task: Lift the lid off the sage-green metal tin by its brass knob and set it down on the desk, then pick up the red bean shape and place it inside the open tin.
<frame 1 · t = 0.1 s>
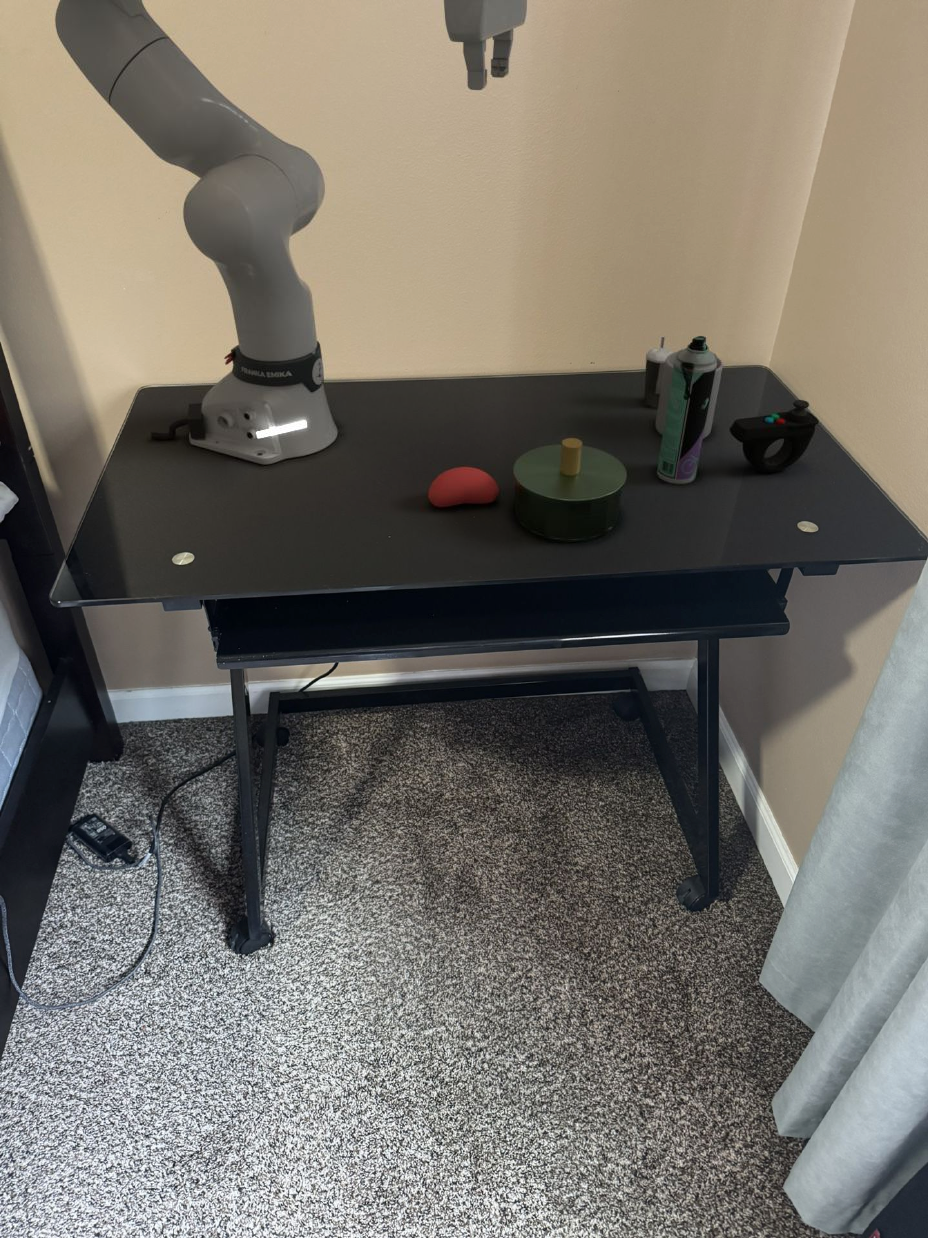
hand: (488, 82, 98), 48 cm above the table, tool pointing down, fingers open, 8 cm apart
tin lid: (569, 474, 114), point 6 cm above the table, touching tin
tin: (566, 514, 117), on the table
milkshake: (653, 403, 144), on the table
red bean shape: (463, 503, 120), on the table
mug: (684, 435, 135), on the table
spray can: (675, 475, 126), on the table
controller: (763, 470, 127), on the table
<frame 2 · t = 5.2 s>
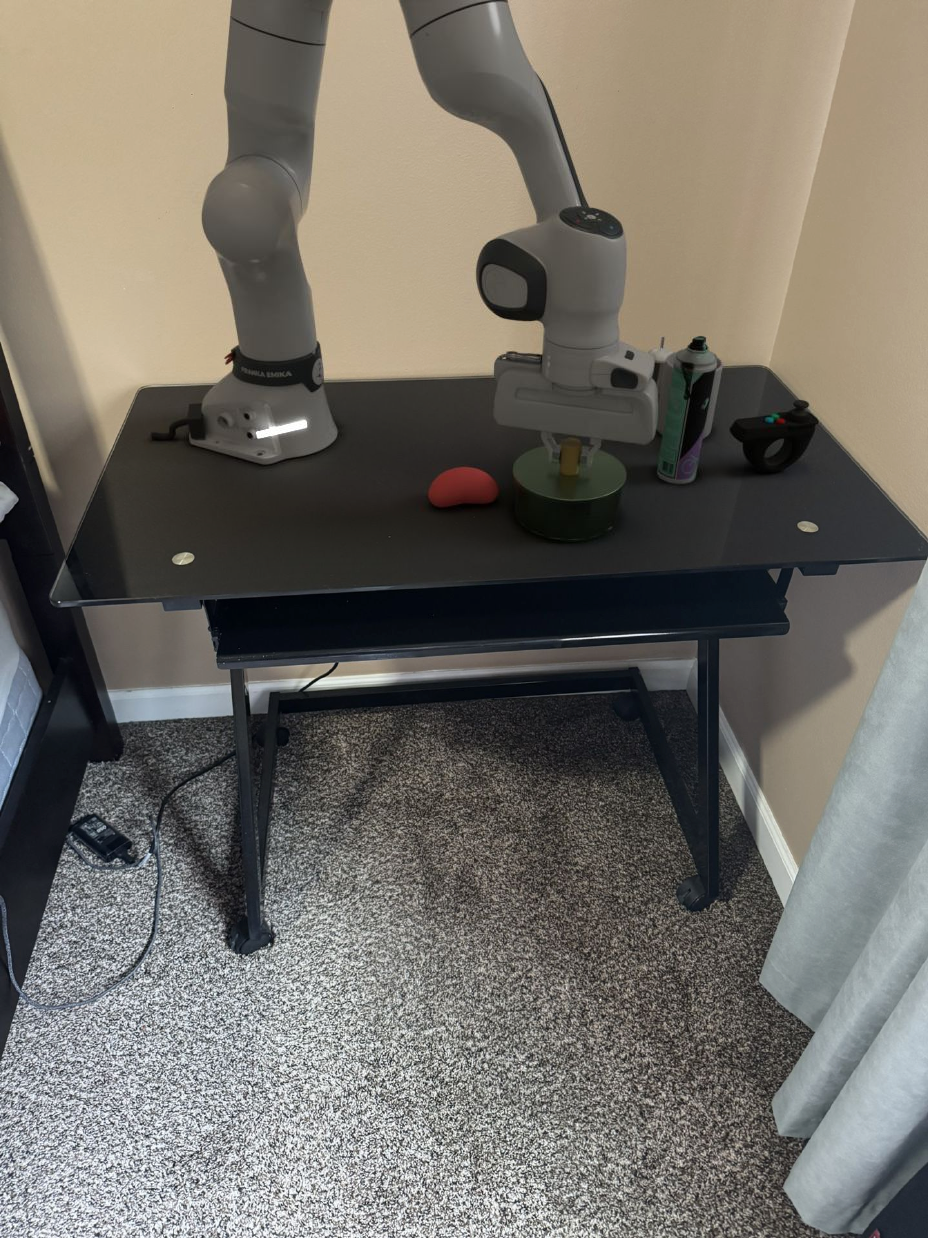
hand: (570, 462, 112), 8 cm above the table, tool pointing down, fingers closed on tin lid, 2 cm apart
tin lid: (569, 474, 114), point 6 cm above the table, touching gripper, tin
everything else where it was.
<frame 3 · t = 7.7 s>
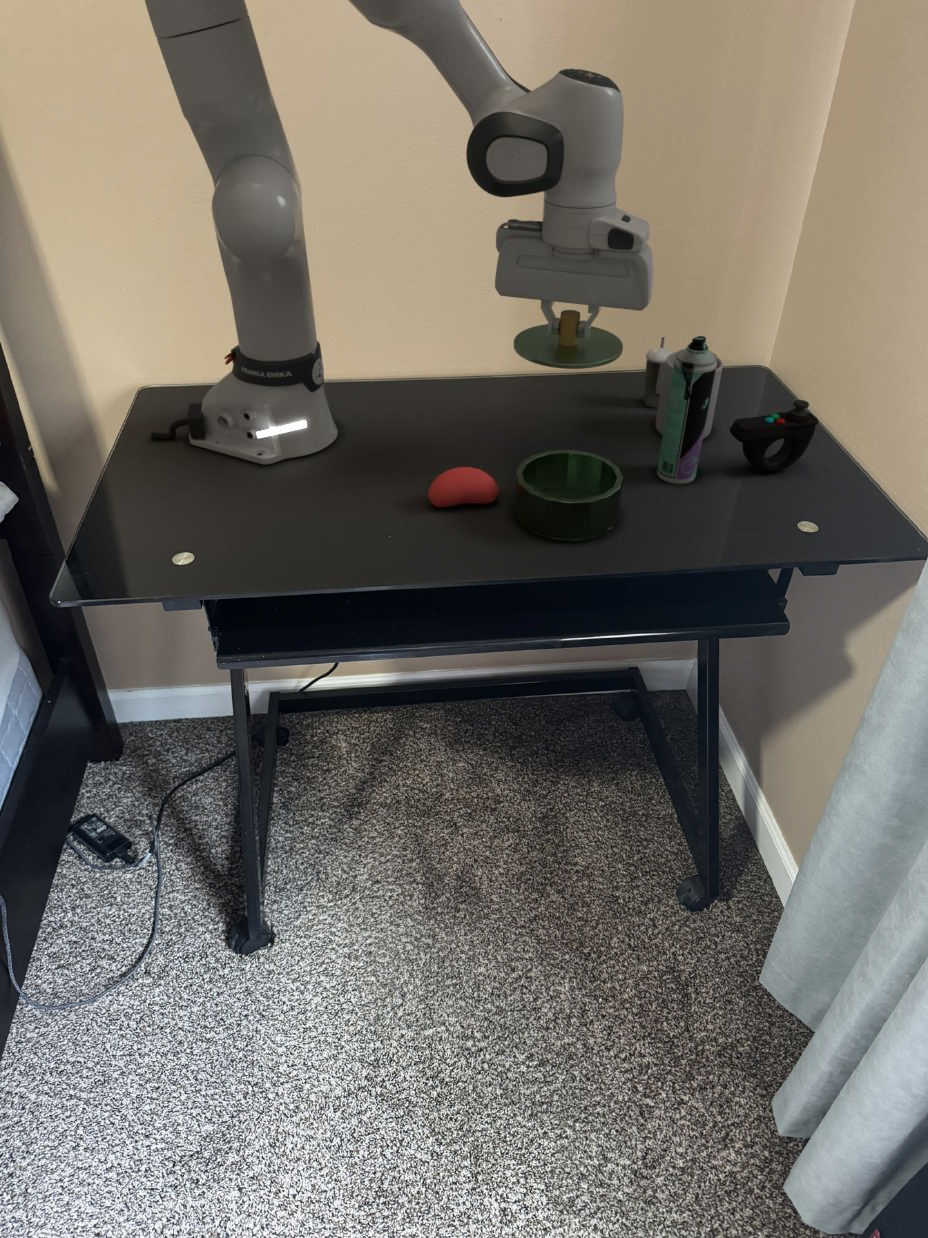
hand: (568, 334, 117), 19 cm above the table, tool pointing down, fingers closed on tin lid, 2 cm apart
tin lid: (567, 347, 118), point 17 cm above the table, touching gripper
everything else where it was.
when the fingers open (2 cm above the table, at t = 10.5 s): tin lid stays where it is, point 1 cm above the table.
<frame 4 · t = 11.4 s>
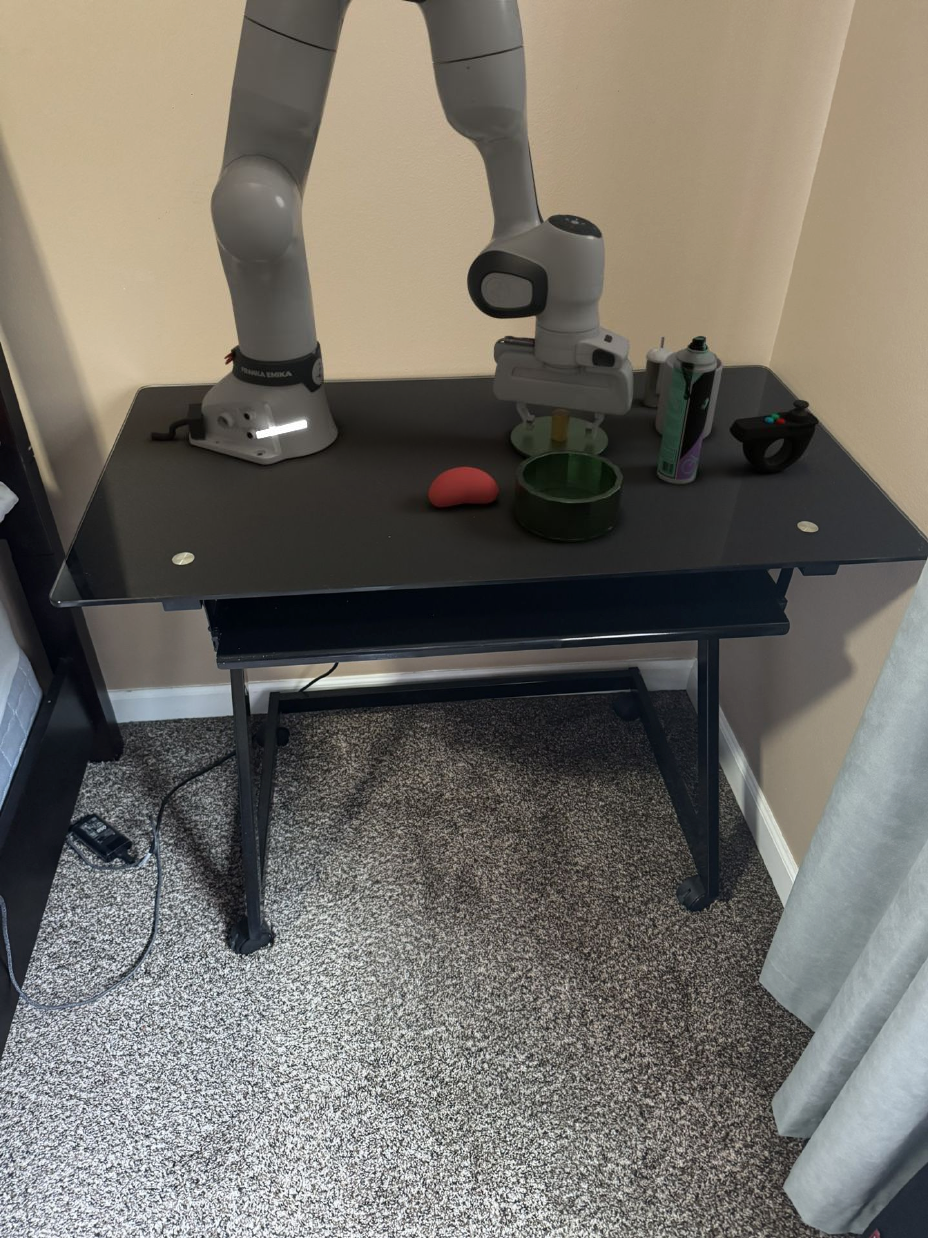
hand: (559, 432, 131), 2 cm above the table, tool pointing down, fingers open, 8 cm apart
tin lid: (558, 440, 132), point 1 cm above the table
everything else where it was.
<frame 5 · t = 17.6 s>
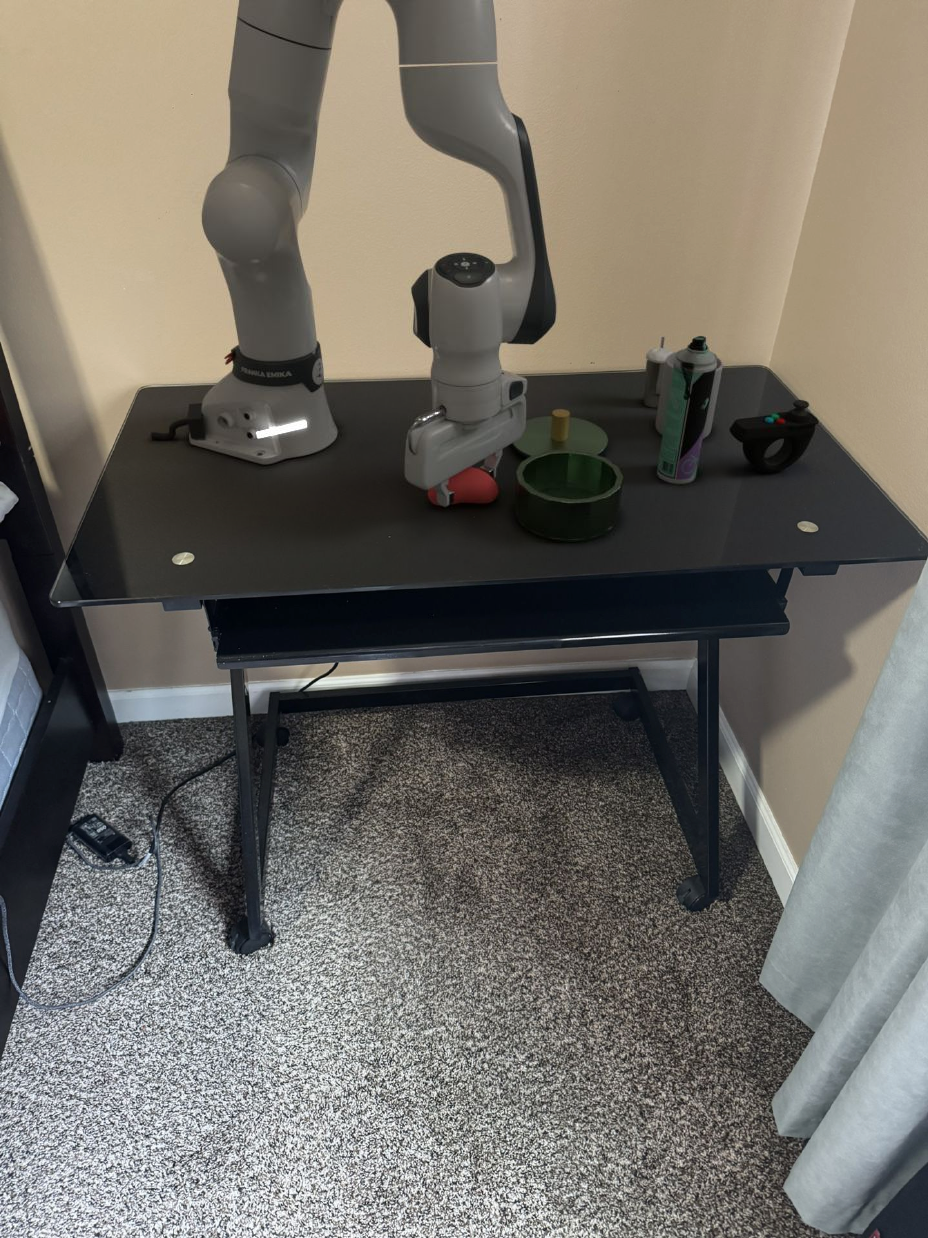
hand: (467, 490, 118), 2 cm above the table, tool pointing down, fingers closed on red bean shape, 7 cm apart
red bean shape: (463, 502, 120), on the table, touching gripper
everything else where it was.
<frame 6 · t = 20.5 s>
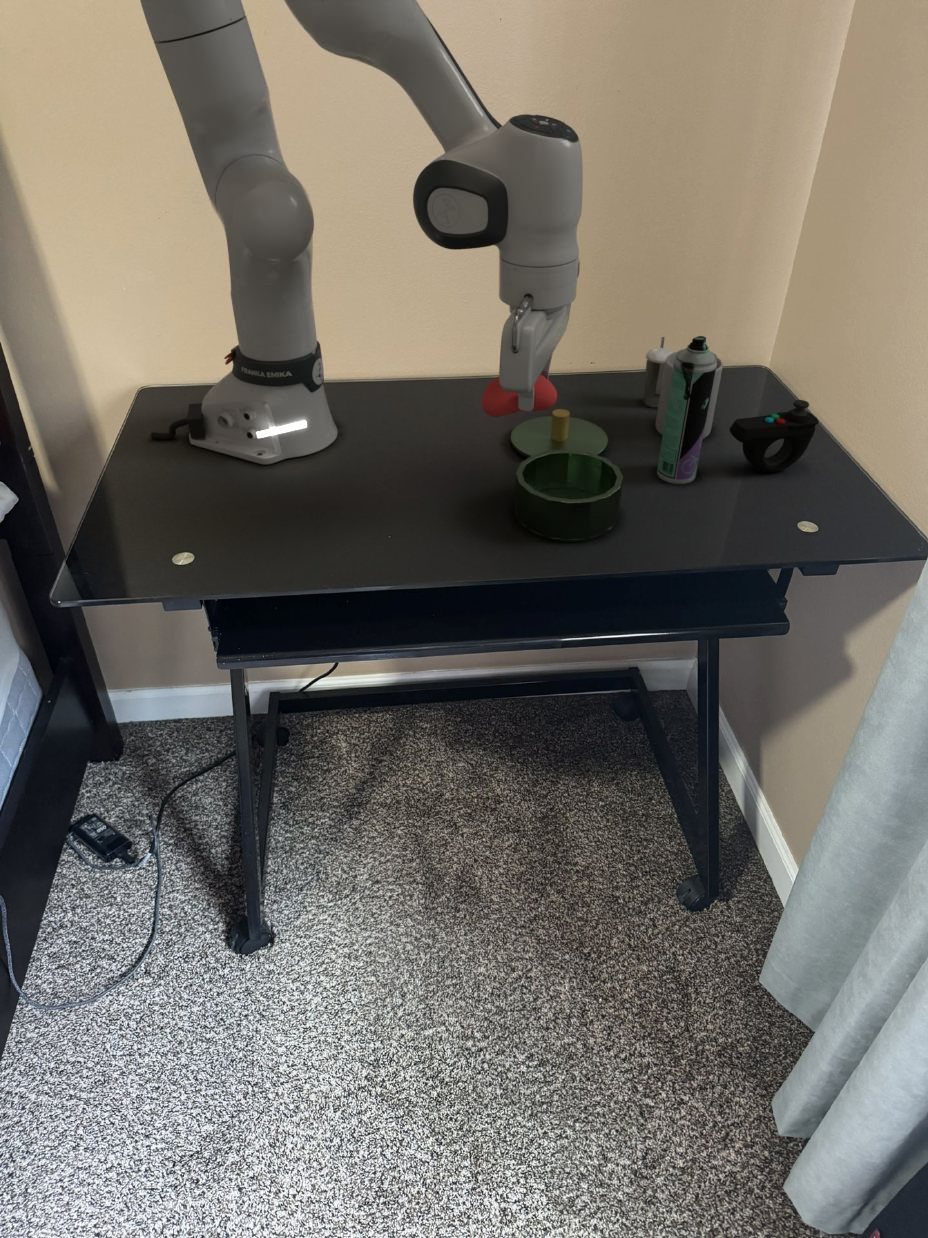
hand: (533, 396, 107), 17 cm above the table, tool pointing down, fingers closed on red bean shape, 5 cm apart
red bean shape: (518, 412, 109), point 14 cm above the table, touching gripper
everything else where it was.
when the fingers open (3 cm above the table, at t = 24.4 s): red bean shape stays where it is, resting on tin.
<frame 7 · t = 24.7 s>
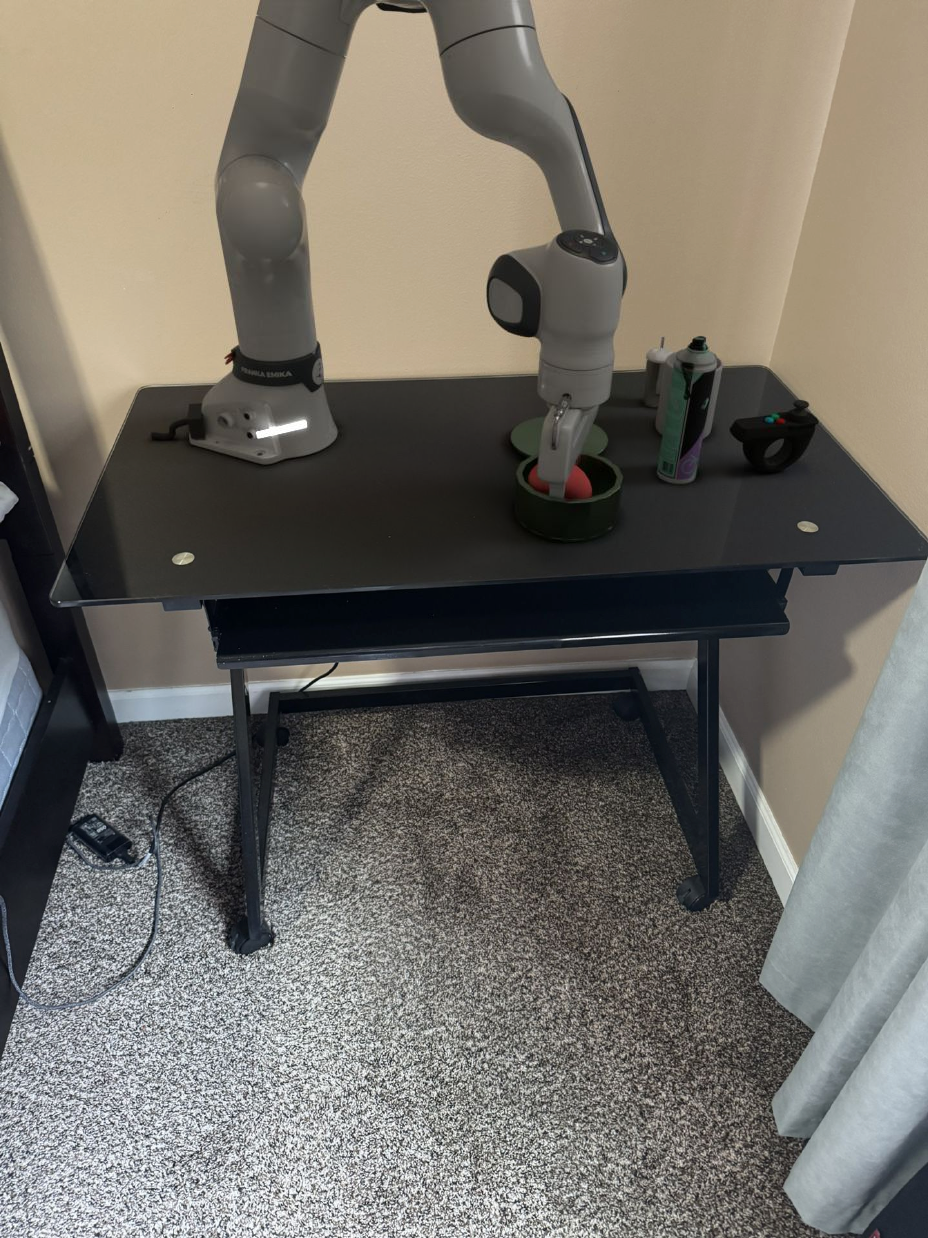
hand: (564, 480, 114), 5 cm above the table, tool pointing down, fingers open, 8 cm apart
red bean shape: (551, 496, 116), point 3 cm above the table, touching tin
everything else where it was.
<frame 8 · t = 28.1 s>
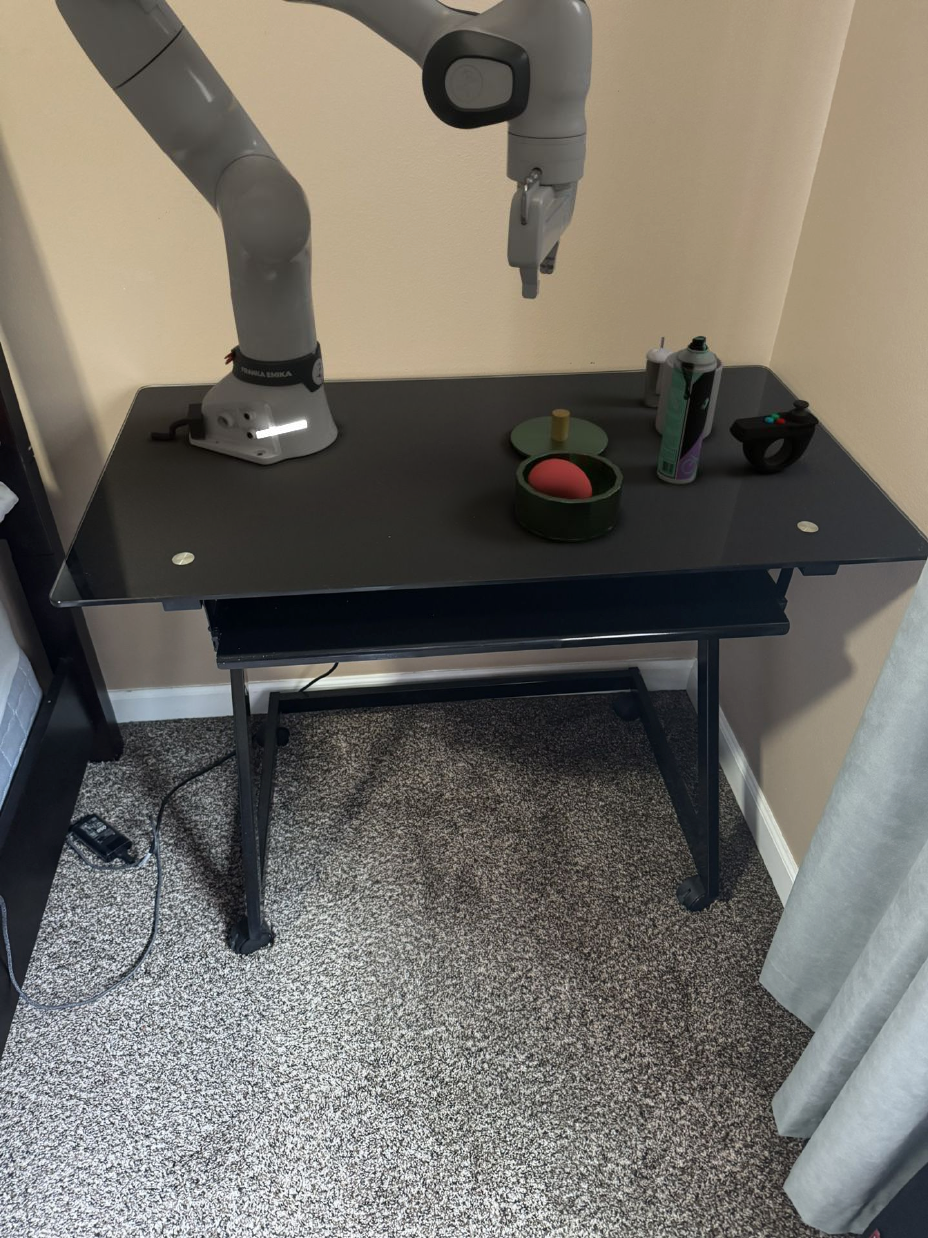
hand: (539, 284, 108), 27 cm above the table, tool pointing down, fingers open, 8 cm apart
nothing on the table moved.
at the end: tin lid inside the target area (0.2 cm from its centre), point 0.6 cm above the table; red bean shape inside the target area in the tin (2.1 cm from its centre), point 2.7 cm above the tin's base; the gripper is holding nothing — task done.
